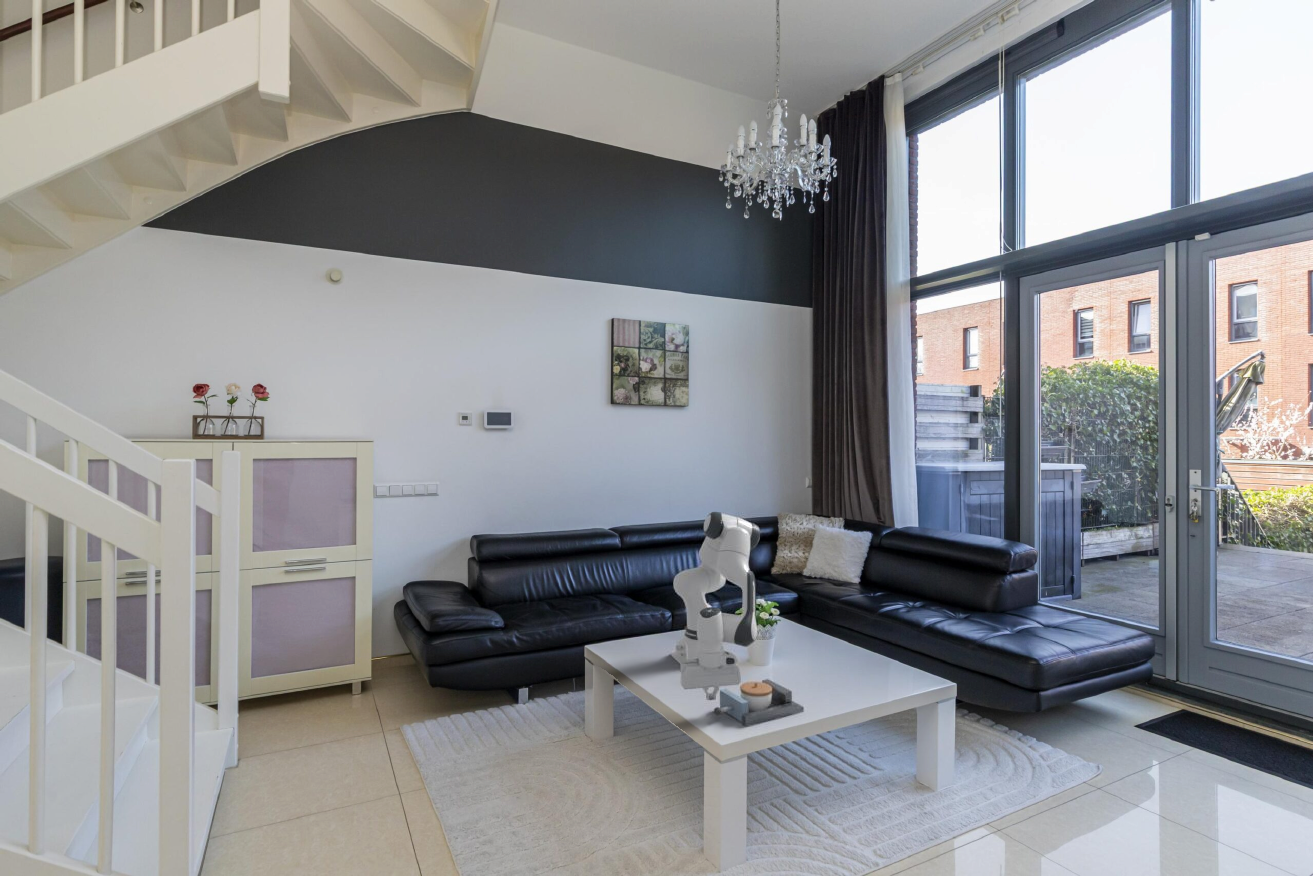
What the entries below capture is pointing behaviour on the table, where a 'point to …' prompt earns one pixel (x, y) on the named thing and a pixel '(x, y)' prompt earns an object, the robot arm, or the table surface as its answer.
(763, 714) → the vise body
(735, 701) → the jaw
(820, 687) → the table surface
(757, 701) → the lidded jar
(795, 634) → the table surface
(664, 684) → the table surface
